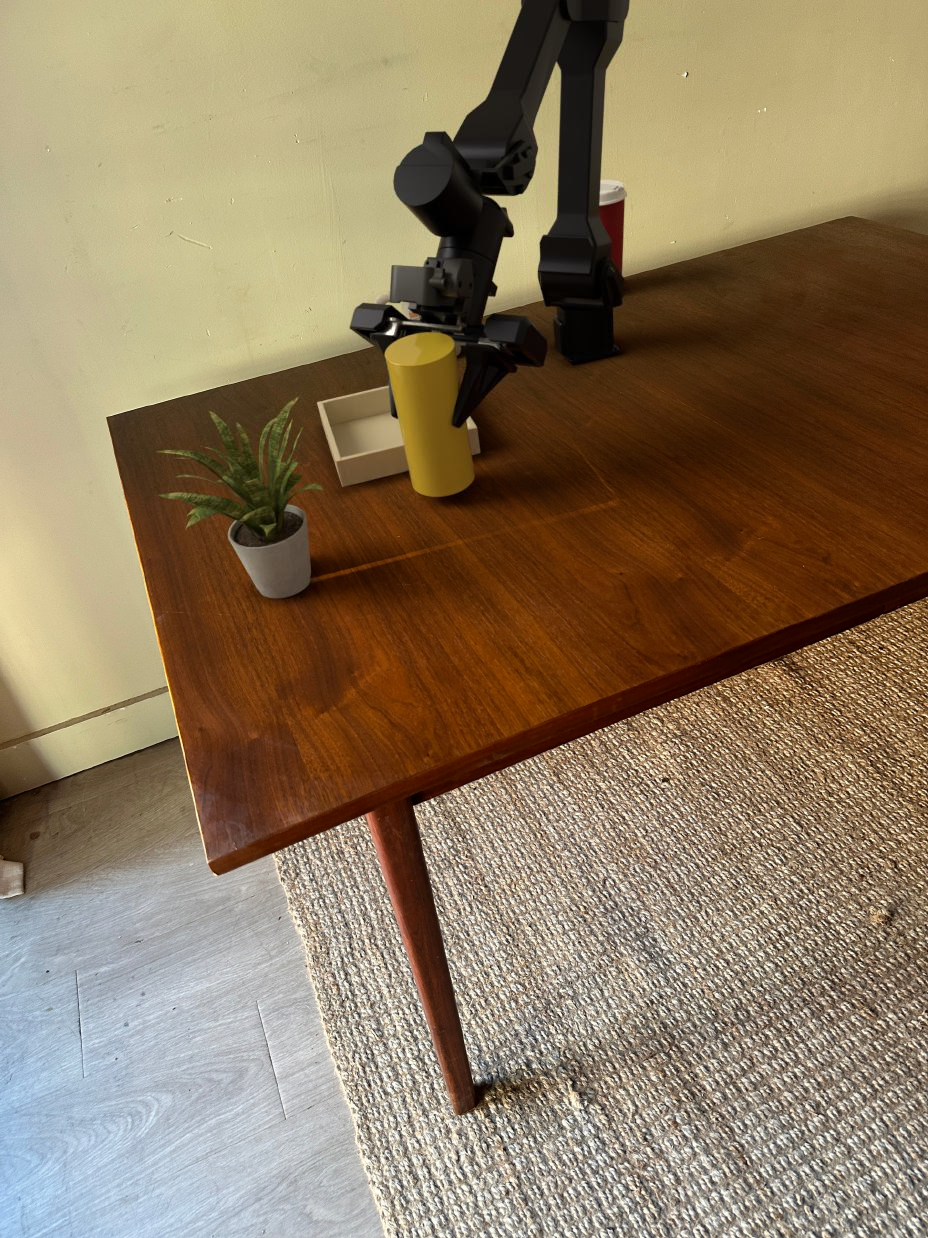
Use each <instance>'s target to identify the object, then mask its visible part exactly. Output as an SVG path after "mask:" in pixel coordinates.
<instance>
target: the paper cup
mask: <svg viewBox="0 0 928 1238" xmlns="http://www.w3.org/2000/svg"><path fill="white" fill-rule="evenodd" d="M627 196H628V192H627V191H626V190H625V185H624V183H623V181H620V180H616V179H601V182H600V203H599V218H600V220H601V222H602V224H603V226H604V228H605V230H606V232H607V234H608V236H609V238H610V239H611V243H612V260H613V261H614V263H615V265H616V266H617V268H618V269H619V271H620V273H621V274H622V275H623V263H624V260H623V259H624V238H625V237H624V235H625V233H624V231H625V229H624V228H625V207H626V198H627Z"/></svg>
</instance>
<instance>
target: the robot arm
mask: <svg viewBox="0 0 928 1238" xmlns="http://www.w3.org/2000/svg"><path fill="white" fill-rule="evenodd" d="M630 2H631V1H630V0H520V10H519V12H518V16H517V18H516V21H515V23H514V25H513V29H512V31H511V34H510V36H509V39H508V41H507V44H506V46H505V49H504V51H503V52H504V53H503V55H502V58H501V60H500V63H499V66H498V68H497V71H496V73H495V76H494V79H493V81H492V83H491V87H490V90H489V92H488V94H487V96H486V97H485V99H484V100H483V101H482V102H480V104H478V105H477V106H476V107H474V108H473V109H472V110H471V111H469V112H468V113H467V114H466V115H465V117H464V118H463V121H462V123H461V124H460V126H459V128H458V129H457V132H456V133H455V136H454V137H453V139H452V137H451V136H450V135H449V134H448V132H447V131H446V130H441V131H440V130H439V131H438V130H437V131H436V130H435V131H425V132H424V135H423V140H422V143H420V144H419V145H417V146H415V147H413V148H412V149H411V150H410V151H409V152H408V153H406V154H405V156H404V157H403V158H402V160H401V161H400V163H399V164H398V165H397V166H396V167H395V170H394V174H393V180H392V183H393V191H394V194H395V195H396V197H397V198H398V200H399V201H400V202H401V203H402V204H403V205H404V206H405V207H406V208H407V209H408V210H409V211H410V213H412V215H413V216H414V217H415V218H416V219H417V220H418V221H419V222H420V223H421V224H422V225H423V226H424V227H425V228H426V230H428V231H429V233H431V234H432V235H434V236H436V237H438V238H439V242H438V246H437V249H436V254H435V257H434V256H427V257H426V259H425V260H424V261H423V266H420V265H419V266H416V265H401V264H400V265H399V264H392V265H391V269H390V285H389V292H390V302H389V303H390V304H374V302H373V303H372V302H362V303H360V304H359V305H357V306H356V307H355V308H354V309H353V312H352V316H351V321H350V324H349V328H348V329H349V330H351V331H352V332H354V333H355V334H357V335H358V336H359V337H361V338H362V339H363V340H365V342H367V343H369V344H370V345H372V346H373V347H374V348H376V349H379V350H380V351H381V353H382V355H383V357H384V362H385V367H386V372H387V380H388V382H387V383H388V384H387V385H388V386H389V395H390V407H391V415H392V417H394V418H395V419H398V416H397V411H396V406H395V402H394V397H393V392H392V387H391V383H390V378H389V373H388V368H387V363H386V359H385V351H386V349H387V348H388V347H389V346H390V345H391V344H392V343H393V342H395V341H397V340H399V339H401V338H403V337H406V336H409V335H413V334H418V333H426V332H432V331H434V332H440V333H442V334H445V335H448V336H450V337H451V338H452V339H453V340H454V342H455V345H461V346H464V347H465V369H464V373H463V375H462V379H461V387H460V390H459V394H458V397H457V401H456V404H455V408H454V414H453V420H452V425H453V426H454V427H456V428H461V426H462V425H463V424H464V423H465V421H466V420H467V419H468V418H469V416H470V417H471V415H472V414H473V413H474V412H475V410H476V409H477V408H478V407H479V405H480V404H481V403H482V402H483V401H484V399H485V398H486V397H487V396H488V395H489V394H490V392H491V391H493V390H494V389H495V388H496V386H498V384H500V383H501V381H502V380H503V379H504V378H505V377H506V376H507V375H509V374H517V372H518V369H519V368H518V366H521V367H532V368H542V367H544V365H545V361H546V357H547V353H548V340H547V338H546V337H545V335H544V333H542V331H541V330H540V329H539V328H538V327H537V326H536V324H534V322H532V321H531V320H530V319H529V317H528V316H527V315H521V314H520V315H519V314H518V315H516V314H506V313H494V312H492V313H491V314H490V315H489V316H488V317H486V319H485V323H483V319H484V315H485V313H486V308H487V304H488V299H489V298H490V297H491V298H496V295H497V292H498V288H499V286H498V285H497V284H496V283H495V282H494V281H493V280H494V276H495V272H496V268H497V264H498V260H499V257H500V252H501V248H502V245H503V241H504V238H509V239H510V238H513V237H514V236H515V228H514V224H513V222H512V221H511V219H510V217H509V214H508V209H507V207H505V206H500V204H499V203H498V202H497V201H496V200H495V199H494V198H492V197H516V196H519V195H523V194H524V193H525V192H526V191H527V189H528V186H529V185H530V183H531V181H532V179H533V178H534V175H535V171H536V165H537V157H538V152H539V146H538V141H537V138H536V135H535V131H534V126H535V123H536V119H537V116H538V113H539V110H540V107H541V106H542V105H541V104H542V102H543V100H544V97H545V94H546V91H547V89H548V85H549V83H550V80H551V78H552V74H553V72H554V69H555V66H556V64H557V66H558V69H559V70H560V94H559V96H560V97H559V131H558V159H557V161H558V163H557V166H558V167H557V169H558V170H557V196H556V197H557V199H556V218H555V220H554V222H553V224H552V225H551V227H550V229H549V231H548V232H547V234H543V235H542V236H541V238H540V240H539V262H538V266H537V280H538V281H537V282H538V284H539V288H540V292H541V296H542V298H543V303H544V306H545V307H547V308H550V307H553V308H556V315H555V316H553V318H552V322H553V338H554V349H556V351H557V352H558V353H559V354H560V355H561V356H562V357H563V358H564V359H565V361H567V362H568V364H570V365H575V364H580V363H583V362H588V361H591V360H597V359H601V358H604V357H609V356H614V355H617V354H619V353H620V348H619V347H618V346H617V345H616V344H615V337H614V336H615V333H614V309H615V308H617V307H621V306H622V305H623V298H624V293H625V289H626V288H625V284H626V283H625V282H626V281H625V279H626V278H625V277H624V276H623V273H622V274H621V273H620V271H619V269H618V268H617V266H616V265H615V263H614V261H613V260H612V243H611V239H610V238H609V236H608V234H607V232H606V230H605V228H604V226H603V224H602V222H601V220H600V218H599V203H600V182H601V180H602V159H603V139H604V137H603V136H604V118H605V114H604V113H605V96H606V75H607V70H608V68H609V66H610V64H611V62H612V61H613V59H614V57H615V55H616V54H617V52H618V50H619V48H620V47H621V44H622V43H623V38H624V32H625V31H624V30H625V22H626V20H627V17H628V14H629V12H630V4H631V3H630ZM400 302H408V303H409V306H408V309H409V310H410V311H411V312H413V313H414V314H419V315H420V316H421V317H420V320H414V319H408V318H407V317H405V316H404V315H403V313H402V311H401V312H400V310H398V309H397V308H396V307H395V306H394V305H392V304H400Z"/></svg>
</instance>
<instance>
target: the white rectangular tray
mask: <svg viewBox="0 0 928 1238" xmlns="http://www.w3.org/2000/svg"><path fill="white" fill-rule="evenodd" d="M316 405H317V408H318V412H319V417H320V420H321V425H322V428H323V431H324V434H325V437H326V440H327V442H328V446H329V449H330V453H331V456H332V459H333V462H334V465H335V468H336V471H337V475H338V478H339V481H340V484H341V487H342V488H344V487H348V486H353V485H357V484H360V483H365V482H368V481H373V480H376V479H380V478H385V477H388V476H392V475H397V474H401V473H404V472H405V473H406V472H409V468H408V464H407V459H406V454H405V449H404V444H403V440H402V435H401V430H400V425H399V421H398V419H395V418H394V417H392V415H391V407H390V395H389V385H384V386H381V387H376V388H372V389H368V390H364V391H360V392H354V393H350V394H347V395H342V396H338V397H333V398H329V399H325V400H321V401H317V402H316ZM467 426H468V433H469V439H470V446H471V452H472V456H474V455H478V454H481V447H480V439H479V431H478V427H477V425H476V423H475V421H474V420H473V418H472V417H471V415H470V416H469V418H468V419H467Z"/></svg>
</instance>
